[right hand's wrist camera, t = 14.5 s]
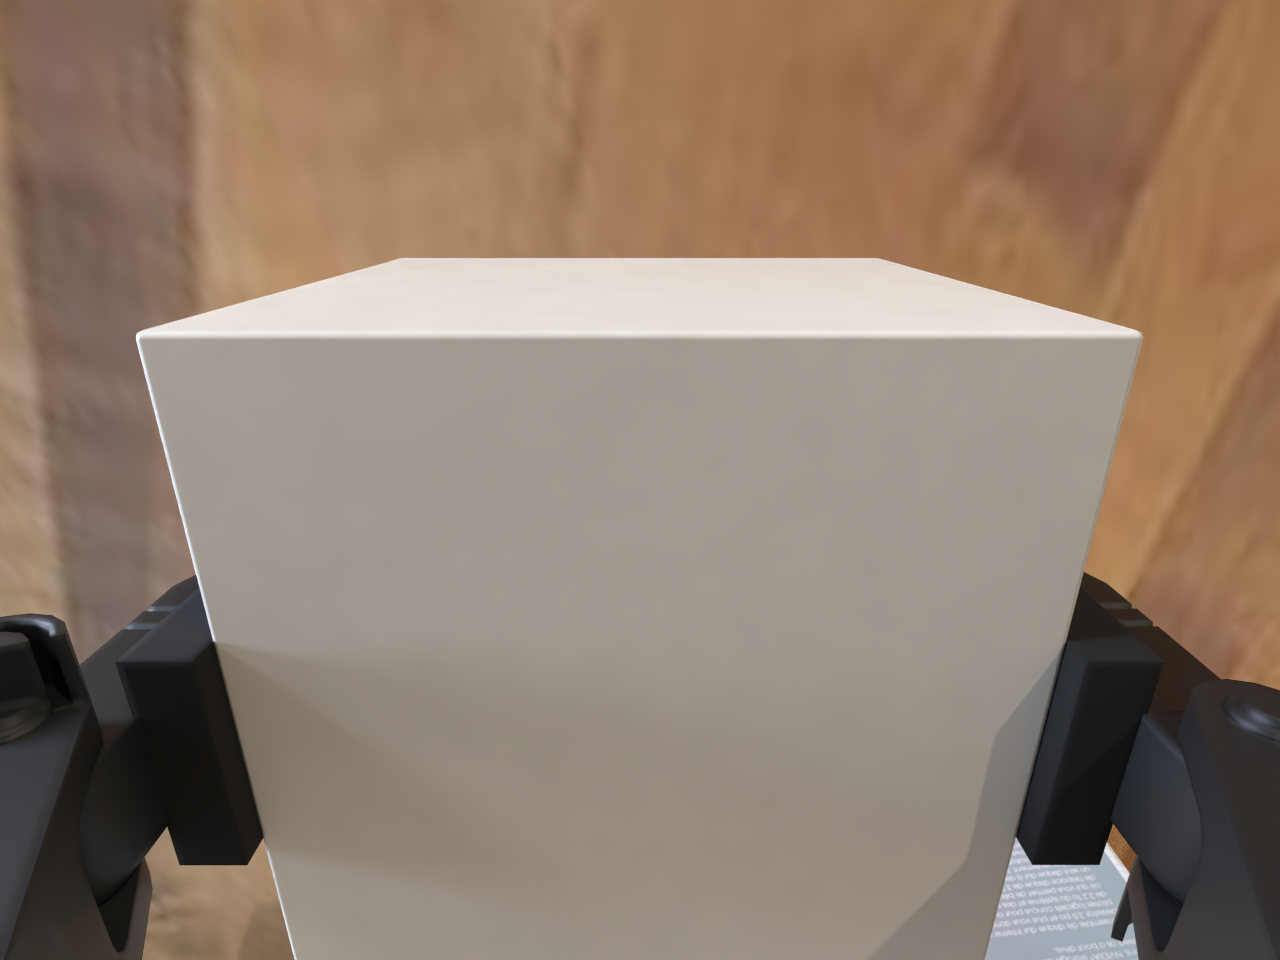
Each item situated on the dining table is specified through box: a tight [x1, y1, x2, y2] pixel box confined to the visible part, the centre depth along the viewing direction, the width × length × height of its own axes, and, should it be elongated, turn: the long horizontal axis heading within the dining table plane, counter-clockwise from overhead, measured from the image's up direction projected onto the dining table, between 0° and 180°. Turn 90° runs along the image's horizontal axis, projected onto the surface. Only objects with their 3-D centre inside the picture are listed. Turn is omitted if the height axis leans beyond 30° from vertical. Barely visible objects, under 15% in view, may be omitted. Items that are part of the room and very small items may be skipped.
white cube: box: [136, 258, 1143, 960], centre depth 11 cm, size 9×9×8 cm
